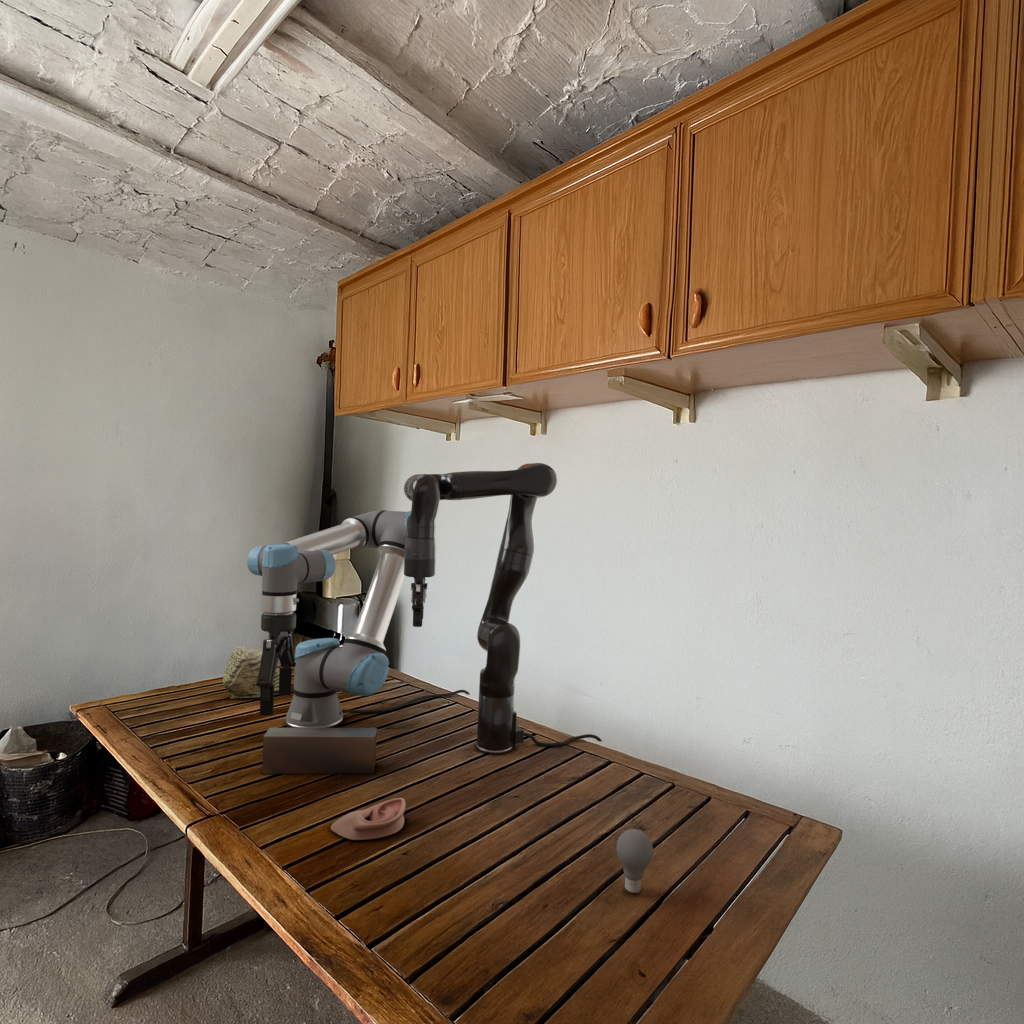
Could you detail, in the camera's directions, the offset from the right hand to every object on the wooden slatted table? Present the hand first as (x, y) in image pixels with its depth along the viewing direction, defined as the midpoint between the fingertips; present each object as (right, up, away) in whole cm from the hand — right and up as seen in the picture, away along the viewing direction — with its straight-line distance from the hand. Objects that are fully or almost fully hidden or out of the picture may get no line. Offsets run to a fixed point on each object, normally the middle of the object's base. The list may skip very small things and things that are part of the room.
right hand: (418, 623), depth 154 cm
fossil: (-58, -30, +44) cm, 79 cm away
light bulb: (+43, -36, -48) cm, 74 cm away
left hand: (-31, -17, -8) cm, 37 cm away
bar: (-22, -33, -6) cm, 40 cm away
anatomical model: (-5, -34, -31) cm, 46 cm away
